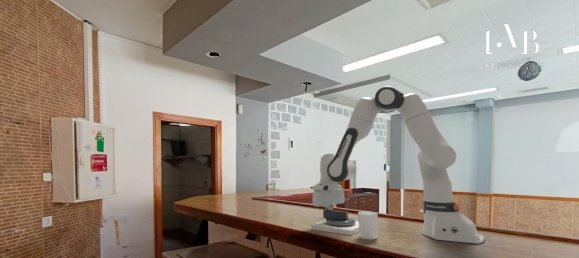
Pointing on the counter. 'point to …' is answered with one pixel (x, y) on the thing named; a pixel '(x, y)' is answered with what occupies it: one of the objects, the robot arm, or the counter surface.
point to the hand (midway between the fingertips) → (329, 214)
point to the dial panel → (337, 228)
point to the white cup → (368, 224)
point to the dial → (337, 218)
